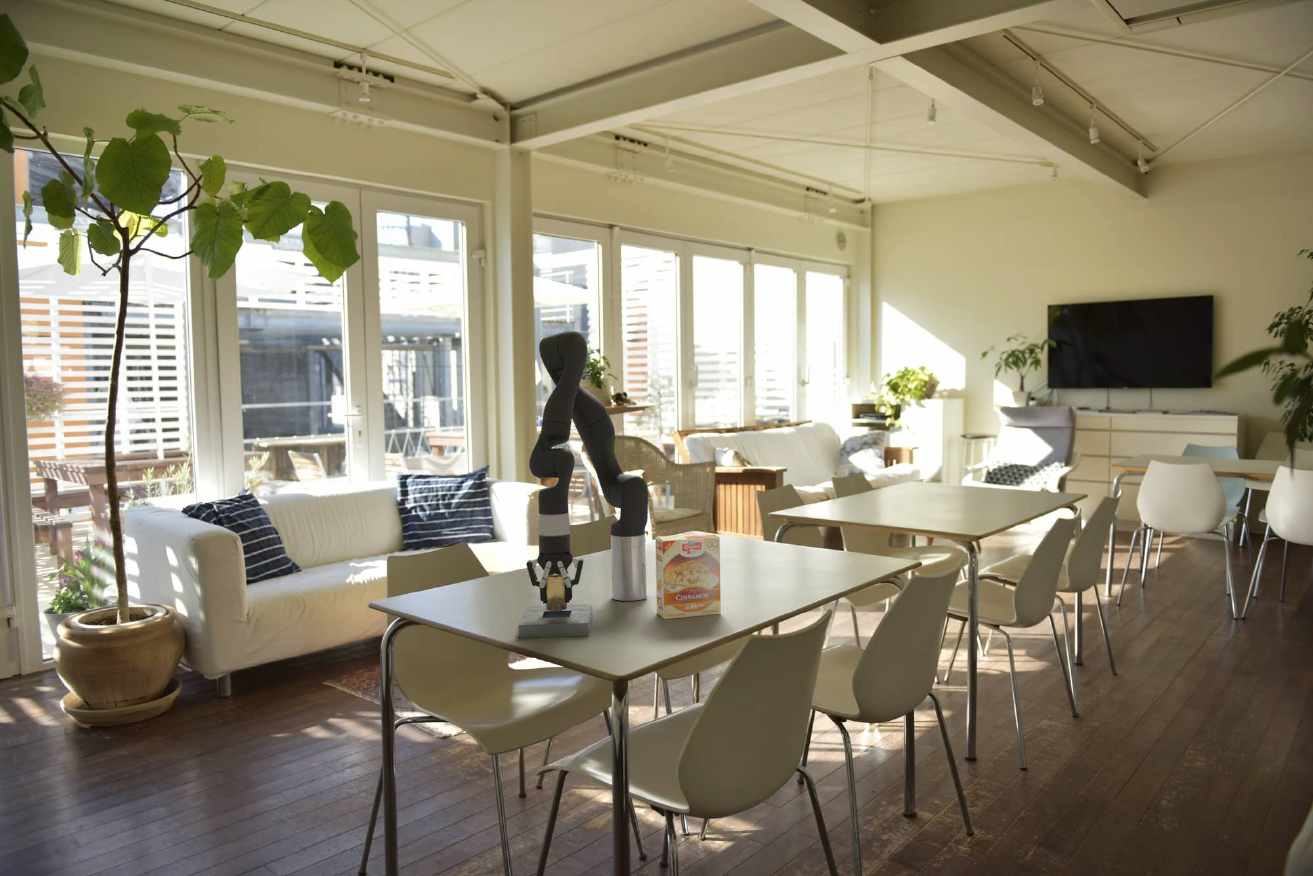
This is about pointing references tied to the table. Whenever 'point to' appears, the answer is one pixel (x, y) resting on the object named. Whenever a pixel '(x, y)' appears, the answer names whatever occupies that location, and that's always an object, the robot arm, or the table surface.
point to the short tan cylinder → (555, 593)
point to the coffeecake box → (688, 575)
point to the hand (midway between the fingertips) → (556, 602)
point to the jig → (556, 621)
